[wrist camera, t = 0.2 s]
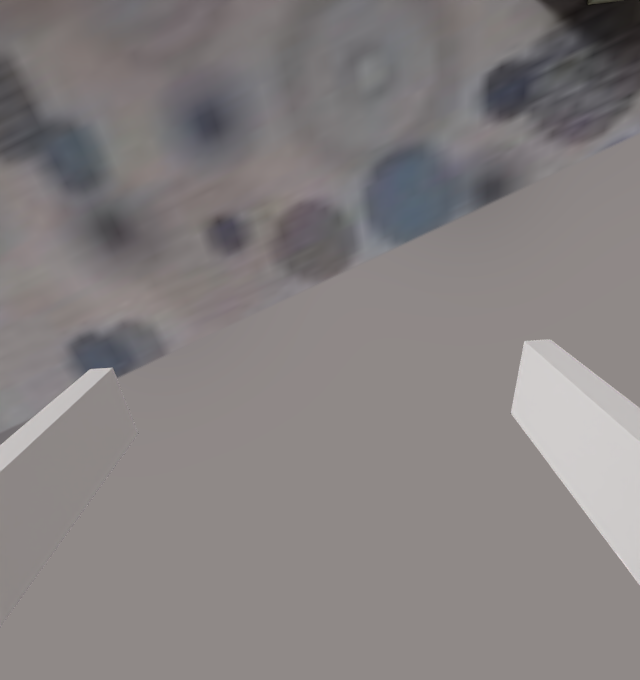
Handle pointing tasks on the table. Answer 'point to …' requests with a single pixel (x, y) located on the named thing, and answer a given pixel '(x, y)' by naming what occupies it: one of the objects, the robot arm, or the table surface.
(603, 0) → the bay
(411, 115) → the table surface
